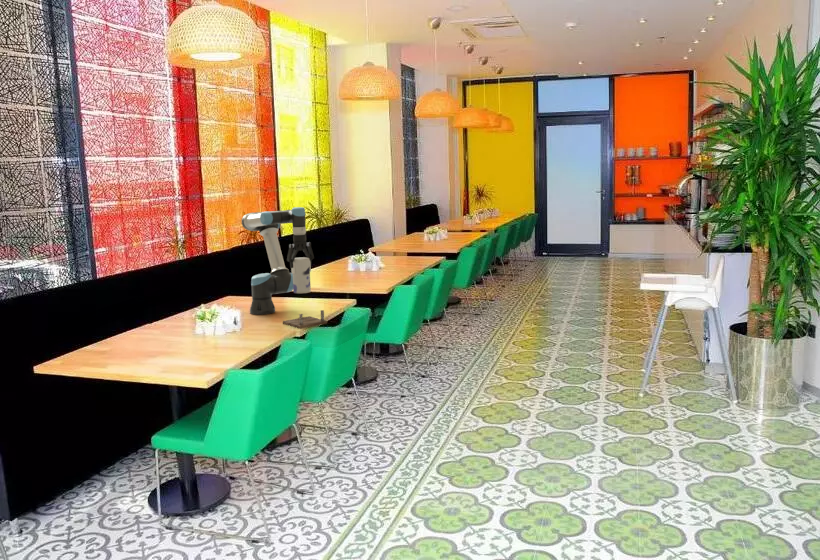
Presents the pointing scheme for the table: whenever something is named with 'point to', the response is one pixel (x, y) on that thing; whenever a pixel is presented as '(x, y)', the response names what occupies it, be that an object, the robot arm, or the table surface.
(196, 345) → the table surface
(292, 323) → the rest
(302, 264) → the container
